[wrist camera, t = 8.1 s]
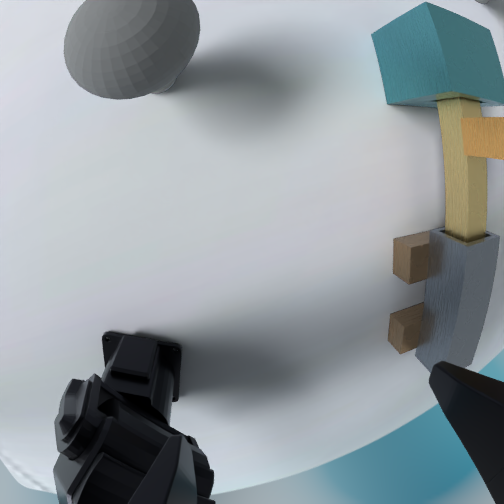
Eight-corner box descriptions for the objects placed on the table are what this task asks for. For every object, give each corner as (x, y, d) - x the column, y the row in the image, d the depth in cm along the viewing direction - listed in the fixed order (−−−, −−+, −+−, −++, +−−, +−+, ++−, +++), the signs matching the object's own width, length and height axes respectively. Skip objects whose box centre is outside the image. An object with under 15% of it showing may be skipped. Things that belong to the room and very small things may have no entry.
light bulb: (222, 84, 16) (232, 11, 7) (144, 138, 17) (76, 118, 7) (173, 24, 14) (149, -66, 5) (100, 75, 15) (21, 23, 5)
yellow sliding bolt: (458, 299, 20) (506, 334, 14) (434, 309, 20) (484, 349, 14) (452, 68, 14) (514, 56, 8) (425, 62, 14) (490, 44, 8)
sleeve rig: (445, 324, 25) (486, 358, 18) (386, 348, 25) (425, 394, 18) (437, 48, 16) (493, 31, 10) (365, 33, 16) (419, -1, 9)
